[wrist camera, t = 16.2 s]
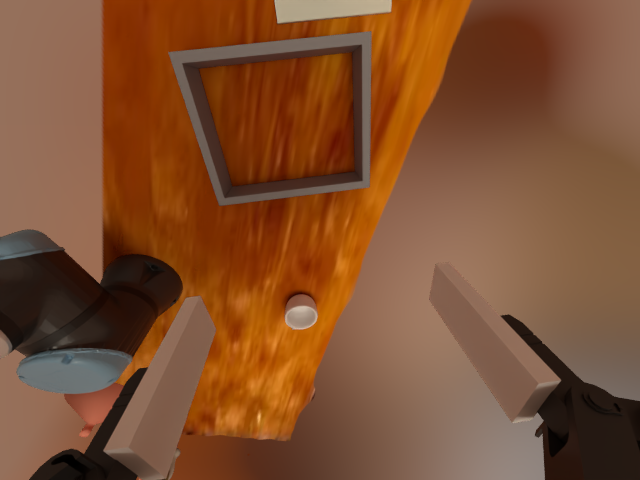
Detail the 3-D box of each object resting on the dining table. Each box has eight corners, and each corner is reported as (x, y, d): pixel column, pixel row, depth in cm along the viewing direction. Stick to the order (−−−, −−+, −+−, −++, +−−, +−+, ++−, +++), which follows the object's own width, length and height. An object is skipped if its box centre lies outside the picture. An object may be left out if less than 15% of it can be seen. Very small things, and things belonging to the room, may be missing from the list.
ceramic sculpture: (159, 435, 88) (136, 494, 75) (185, 437, 90) (167, 494, 77) (156, 448, 92) (134, 505, 79) (180, 450, 95) (163, 505, 82)
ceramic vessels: (69, 415, 76) (9, 500, 60) (58, 376, 67) (-17, 465, 51) (188, 421, 85) (163, 497, 69) (193, 388, 75) (166, 467, 59)
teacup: (291, 286, 58) (291, 302, 54) (320, 293, 60) (322, 309, 56) (278, 314, 62) (277, 331, 58) (306, 320, 65) (307, 337, 60)
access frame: (227, 193, 45) (219, 205, 40) (186, 59, 35) (168, 52, 30) (361, 177, 46) (369, 187, 41) (360, 41, 36) (371, 31, 31)
